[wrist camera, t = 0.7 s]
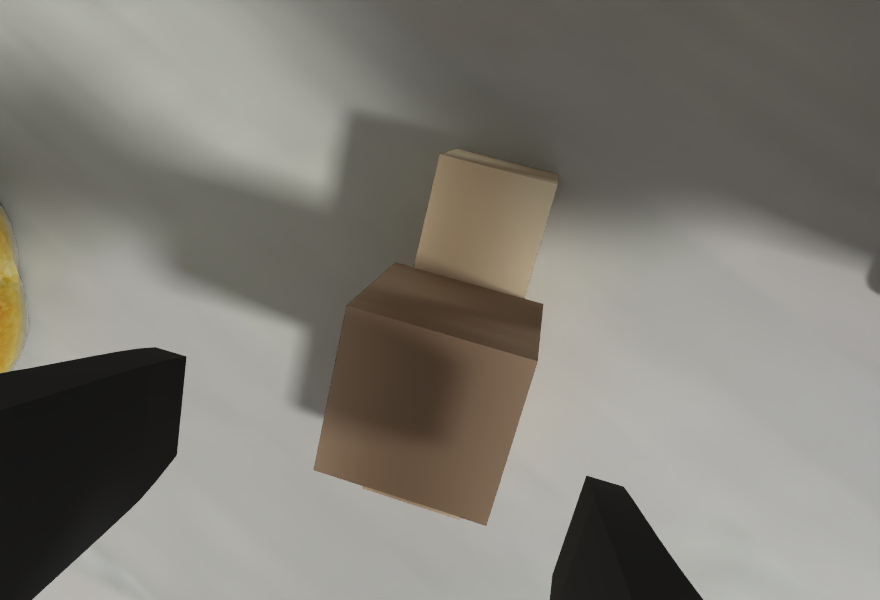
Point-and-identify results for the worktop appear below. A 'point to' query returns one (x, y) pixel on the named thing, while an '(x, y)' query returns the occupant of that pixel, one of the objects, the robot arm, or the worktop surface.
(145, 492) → the robot arm
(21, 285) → the bread roll
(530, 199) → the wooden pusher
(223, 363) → the worktop surface
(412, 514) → the worktop surface
